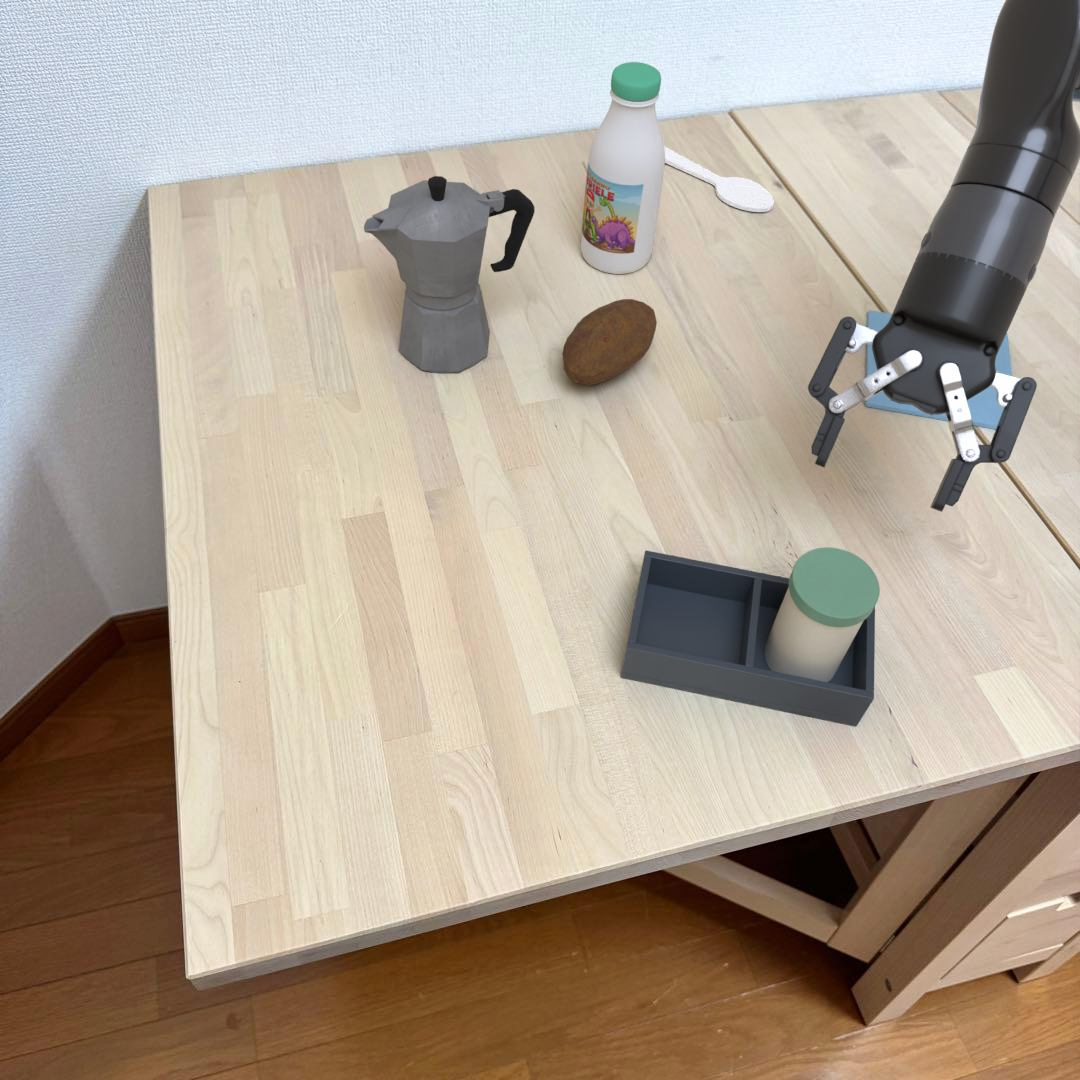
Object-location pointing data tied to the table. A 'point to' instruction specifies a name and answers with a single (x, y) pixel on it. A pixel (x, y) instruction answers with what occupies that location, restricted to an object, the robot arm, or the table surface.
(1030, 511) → the table surface
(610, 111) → the milk bottle
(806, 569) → the container
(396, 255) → the coffeepot
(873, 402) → the mat
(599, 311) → the potato
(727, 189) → the spoon
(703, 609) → the divided tray
